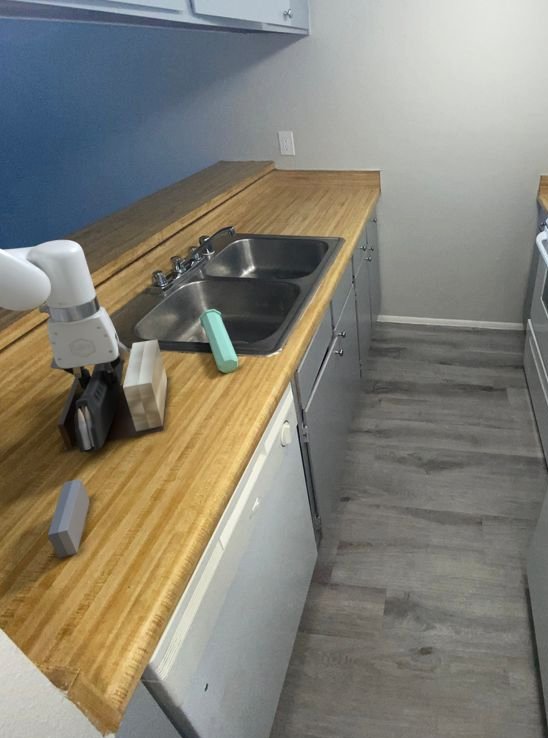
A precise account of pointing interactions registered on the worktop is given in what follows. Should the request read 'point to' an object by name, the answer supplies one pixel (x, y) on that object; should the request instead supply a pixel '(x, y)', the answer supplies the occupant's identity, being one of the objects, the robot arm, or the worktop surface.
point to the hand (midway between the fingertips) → (101, 386)
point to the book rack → (128, 398)
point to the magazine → (96, 409)
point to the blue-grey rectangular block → (69, 518)
